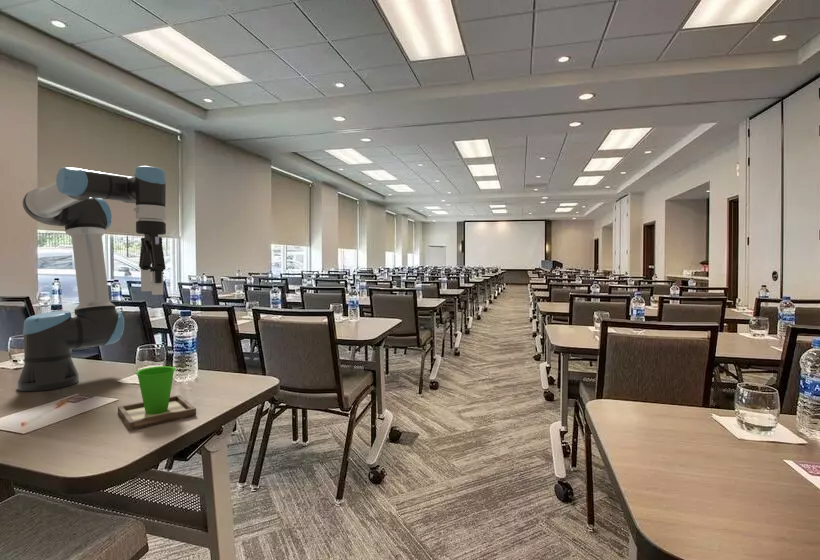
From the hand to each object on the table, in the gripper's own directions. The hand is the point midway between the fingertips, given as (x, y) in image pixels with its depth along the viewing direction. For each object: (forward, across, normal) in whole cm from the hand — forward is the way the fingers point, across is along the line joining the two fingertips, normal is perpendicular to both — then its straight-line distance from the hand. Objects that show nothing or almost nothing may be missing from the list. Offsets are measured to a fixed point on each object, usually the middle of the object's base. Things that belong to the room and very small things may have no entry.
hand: (151, 293), depth 126 cm
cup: (+30, +17, -3) cm, 35 cm away
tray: (+31, +17, -3) cm, 36 cm away
